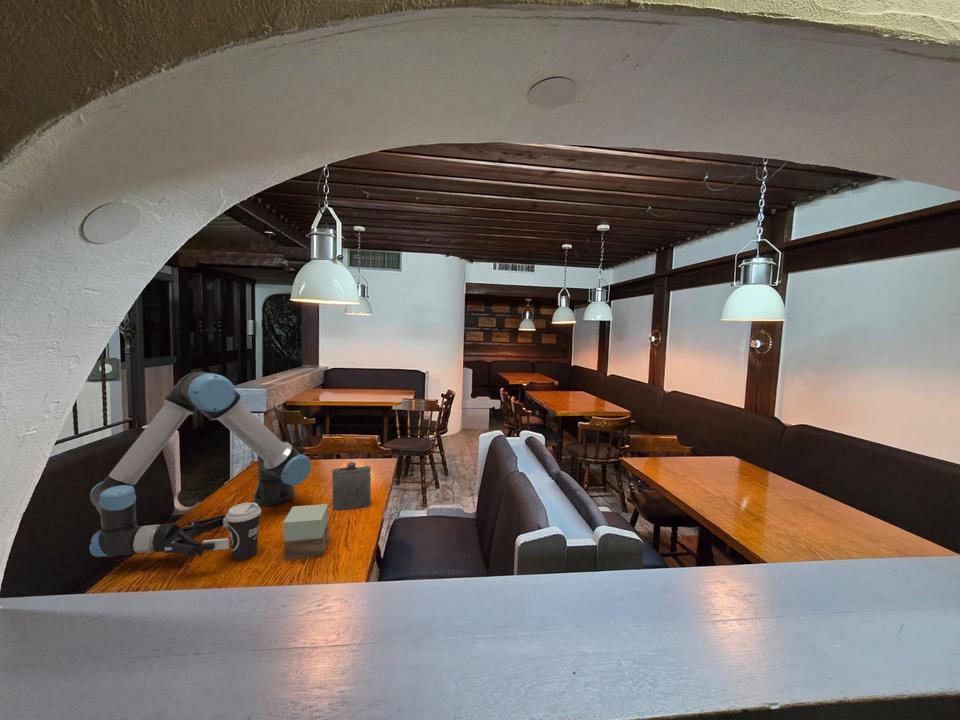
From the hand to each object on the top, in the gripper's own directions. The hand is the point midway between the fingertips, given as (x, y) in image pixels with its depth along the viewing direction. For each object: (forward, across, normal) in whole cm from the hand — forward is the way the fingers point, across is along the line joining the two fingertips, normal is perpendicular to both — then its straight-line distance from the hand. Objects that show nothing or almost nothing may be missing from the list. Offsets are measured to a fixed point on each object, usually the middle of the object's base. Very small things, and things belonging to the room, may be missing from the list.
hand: (237, 531), depth 120 cm
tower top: (+20, -1, -2) cm, 20 cm away
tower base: (+20, -1, -8) cm, 21 cm away
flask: (+30, -29, -8) cm, 43 cm away
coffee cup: (+2, 0, -8) cm, 8 cm away
